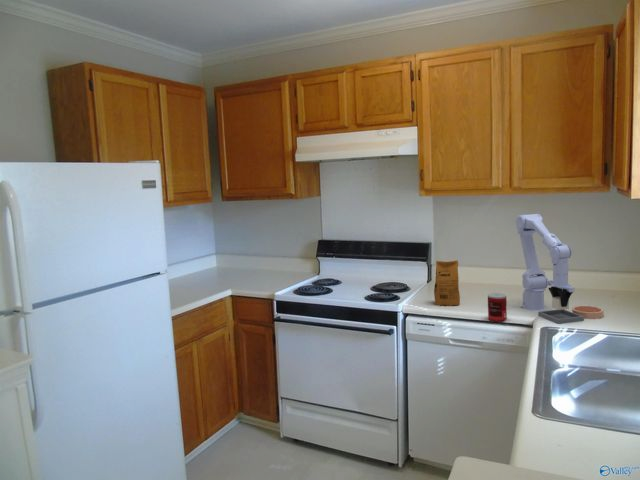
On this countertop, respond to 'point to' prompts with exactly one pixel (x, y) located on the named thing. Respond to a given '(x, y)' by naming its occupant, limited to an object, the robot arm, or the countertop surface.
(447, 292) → the coffee package
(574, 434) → the countertop surface
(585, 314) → the bowl
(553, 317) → the parts tray
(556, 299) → the stone block
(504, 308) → the canned food
